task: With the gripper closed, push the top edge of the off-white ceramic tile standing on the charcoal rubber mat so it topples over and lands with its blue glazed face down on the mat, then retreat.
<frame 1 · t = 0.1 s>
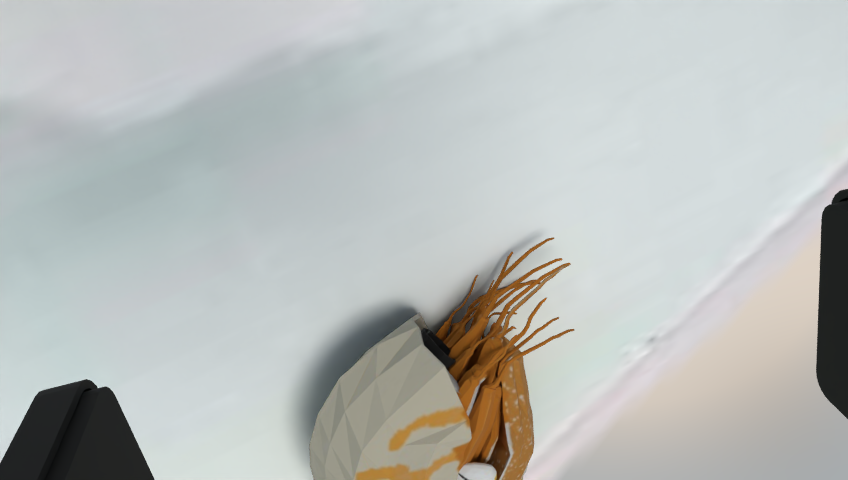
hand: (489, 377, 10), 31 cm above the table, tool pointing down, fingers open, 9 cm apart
nautilus: (452, 368, 48), on the table
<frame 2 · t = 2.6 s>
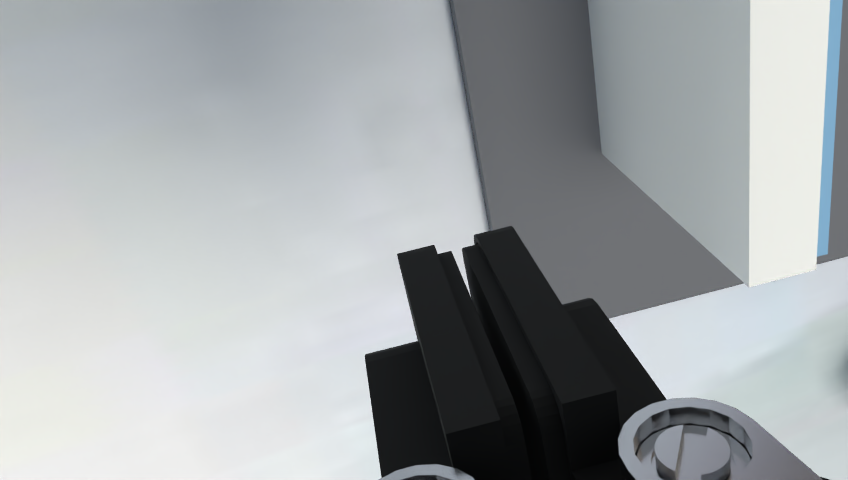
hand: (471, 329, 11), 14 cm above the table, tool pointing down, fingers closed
mat: (707, 77, 25), on the table
tile: (620, 9, 23), point 1 cm above the table, touching mat
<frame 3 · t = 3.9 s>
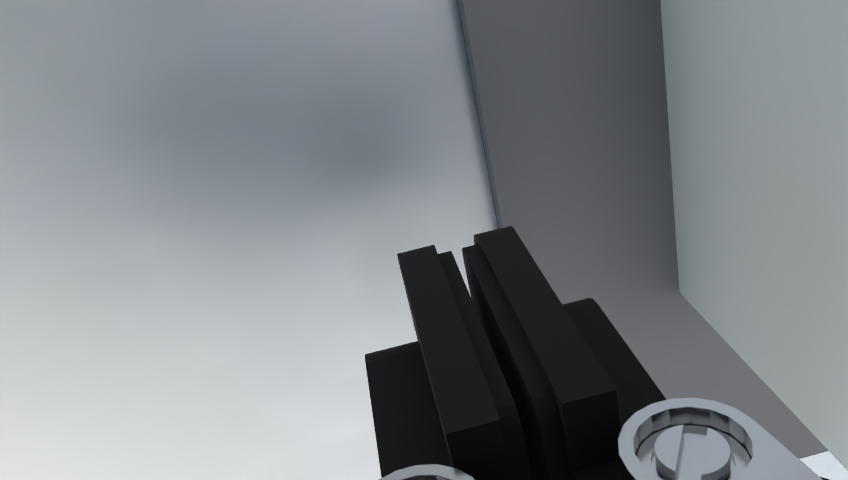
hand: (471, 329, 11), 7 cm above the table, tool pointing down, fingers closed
mat: (820, 188, 19), on the table
tile: (711, 106, 17), point 1 cm above the table, touching mat
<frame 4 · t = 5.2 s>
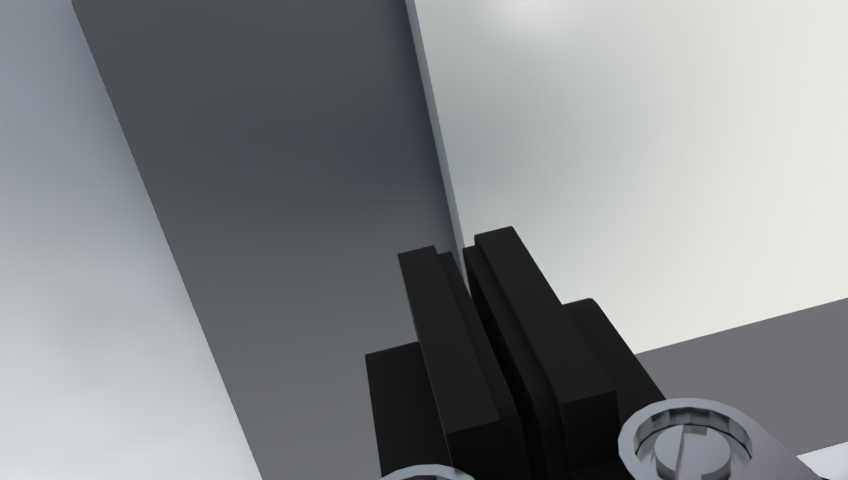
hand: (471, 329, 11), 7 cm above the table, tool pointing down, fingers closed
mat: (540, 256, 18), on the table
tile: (447, 188, 16), point 2 cm above the table, tilted 90°, touching mat
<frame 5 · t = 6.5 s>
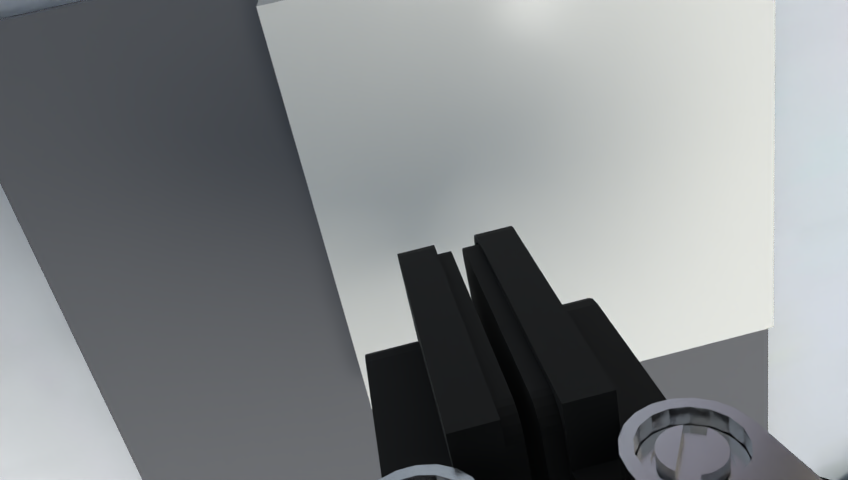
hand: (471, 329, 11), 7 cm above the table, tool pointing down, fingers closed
mat: (436, 290, 18), on the table
tile: (323, 225, 15), point 2 cm above the table, tilted 90°, touching mat
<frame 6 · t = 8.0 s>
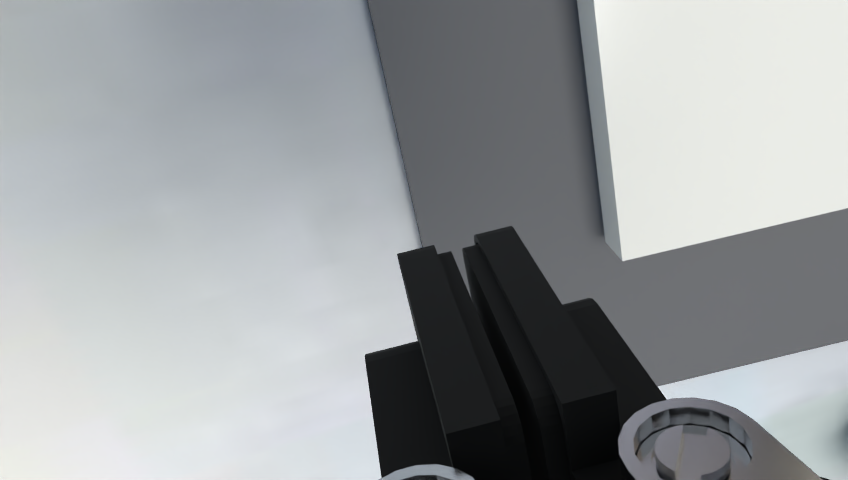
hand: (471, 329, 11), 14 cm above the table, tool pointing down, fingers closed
mat: (648, 177, 26), on the table
tile: (596, 116, 23), point 2 cm above the table, tilted 90°, touching mat
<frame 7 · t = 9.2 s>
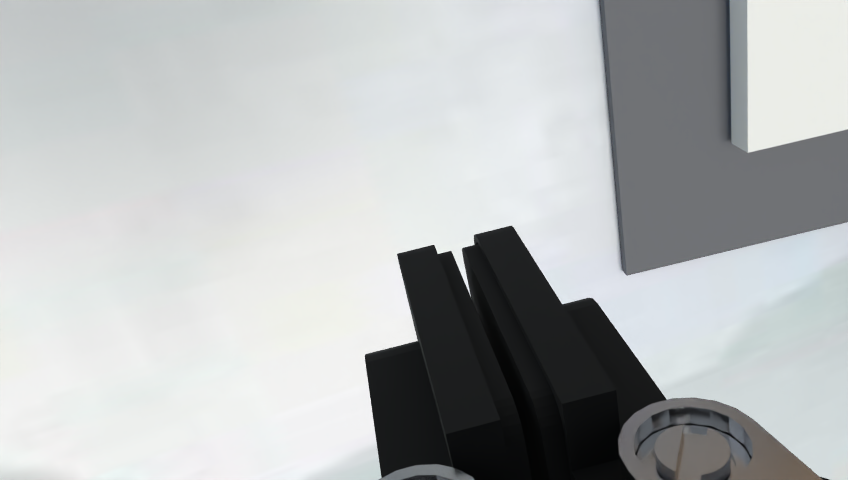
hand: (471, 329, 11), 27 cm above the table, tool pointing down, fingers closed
mat: (758, 102, 40), on the table
tile: (736, 59, 37), point 2 cm above the table, tilted 90°, touching mat
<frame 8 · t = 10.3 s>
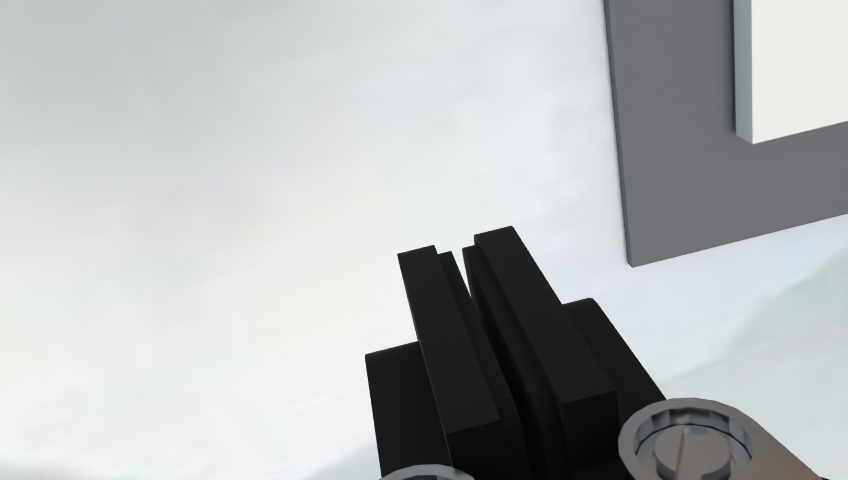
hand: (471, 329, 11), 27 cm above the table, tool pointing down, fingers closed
mat: (762, 93, 40), on the table
tile: (740, 51, 37), point 2 cm above the table, tilted 90°, touching mat
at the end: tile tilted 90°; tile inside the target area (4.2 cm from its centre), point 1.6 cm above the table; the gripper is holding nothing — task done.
